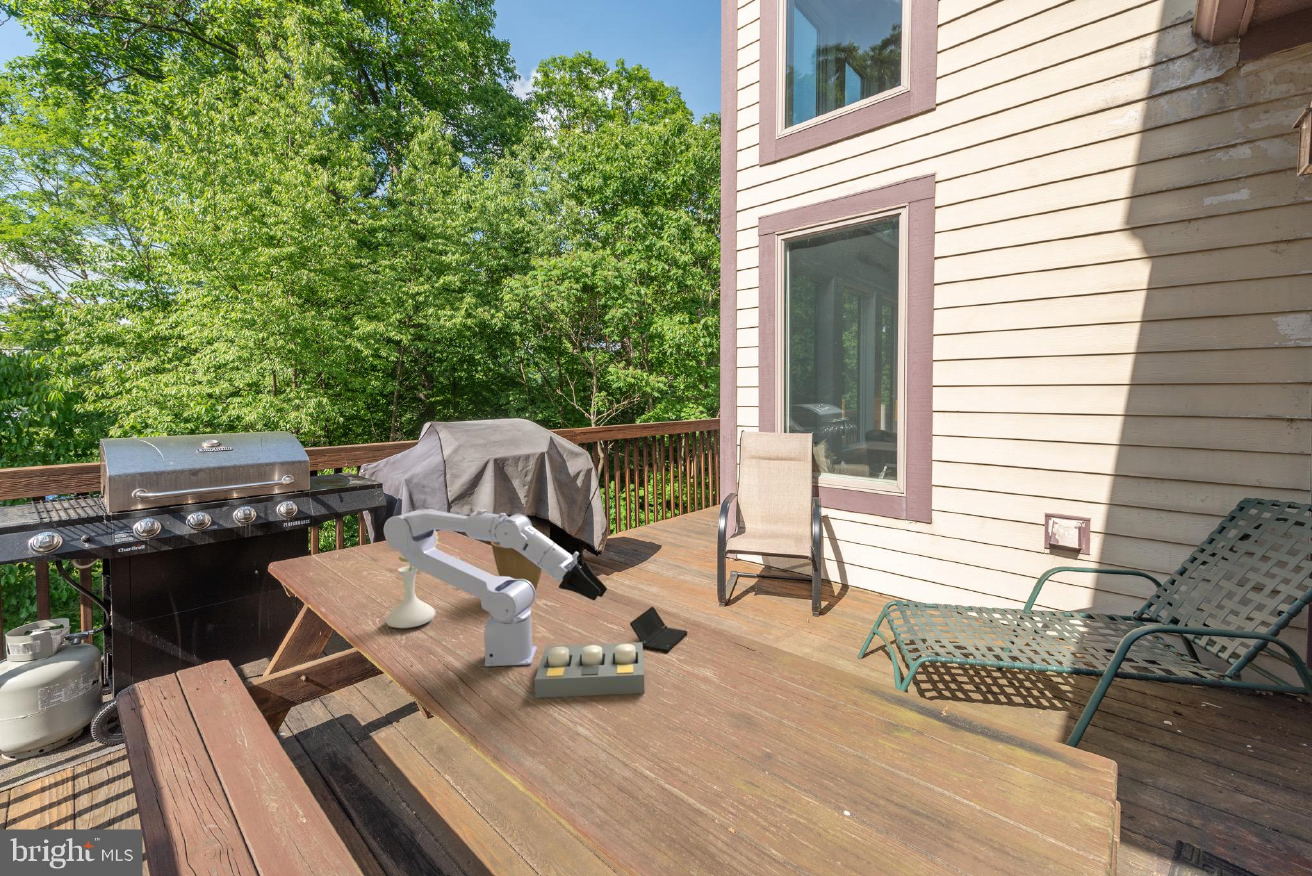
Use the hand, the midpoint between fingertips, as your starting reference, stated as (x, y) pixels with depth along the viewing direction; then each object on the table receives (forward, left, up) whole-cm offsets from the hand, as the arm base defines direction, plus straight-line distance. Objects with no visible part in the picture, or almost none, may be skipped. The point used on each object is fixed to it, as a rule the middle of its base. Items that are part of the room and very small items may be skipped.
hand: (601, 594), depth 115 cm
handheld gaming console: (+12, +12, -16) cm, 23 cm away
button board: (-2, -4, -15) cm, 16 cm away
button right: (+5, -4, -13) cm, 14 cm away
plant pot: (-25, +45, -15) cm, 54 cm away
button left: (-8, -4, -13) cm, 16 cm away
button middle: (-2, -4, -13) cm, 13 cm away
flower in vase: (-48, +28, -15) cm, 57 cm away
